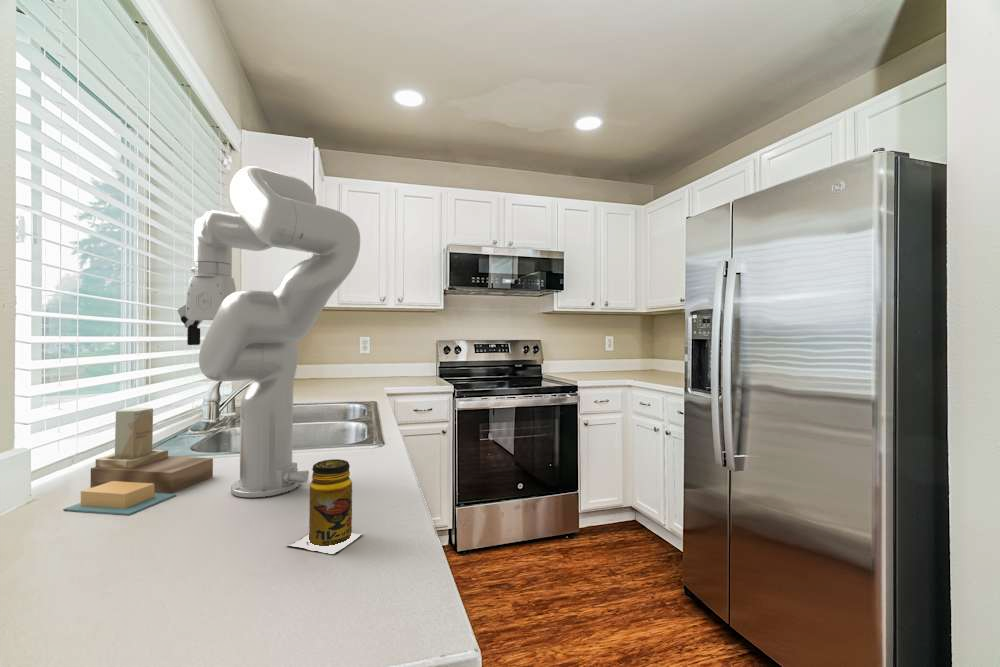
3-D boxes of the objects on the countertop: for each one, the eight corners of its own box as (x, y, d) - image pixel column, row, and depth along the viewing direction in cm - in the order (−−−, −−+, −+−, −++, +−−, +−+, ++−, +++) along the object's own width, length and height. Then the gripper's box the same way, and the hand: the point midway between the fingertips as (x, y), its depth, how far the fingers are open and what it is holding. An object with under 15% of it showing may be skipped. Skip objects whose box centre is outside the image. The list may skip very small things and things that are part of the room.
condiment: (334, 556, 68) (335, 471, 68) (285, 547, 70) (286, 465, 70) (364, 535, 75) (365, 458, 75) (318, 528, 77) (319, 454, 77)
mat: (176, 495, 92) (176, 494, 92) (128, 515, 82) (128, 513, 82) (116, 491, 93) (116, 490, 93) (63, 510, 83) (63, 508, 83)
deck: (212, 476, 104) (213, 451, 104) (171, 493, 93) (171, 465, 93) (139, 472, 106) (139, 447, 106) (90, 488, 95) (90, 460, 95)
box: (133, 465, 97) (133, 411, 97) (113, 465, 98) (113, 410, 98) (153, 458, 103) (154, 407, 103) (134, 458, 103) (135, 407, 103)
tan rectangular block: (125, 494, 84) (125, 508, 84) (154, 483, 90) (154, 496, 90) (80, 491, 85) (80, 505, 85) (112, 481, 91) (112, 494, 91)
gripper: (166, 270, 109) (166, 345, 109) (236, 269, 107) (235, 346, 107) (192, 274, 116) (191, 344, 116) (257, 273, 114) (257, 345, 114)
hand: (212, 345), depth 111 cm, fingers open, 9 cm apart
